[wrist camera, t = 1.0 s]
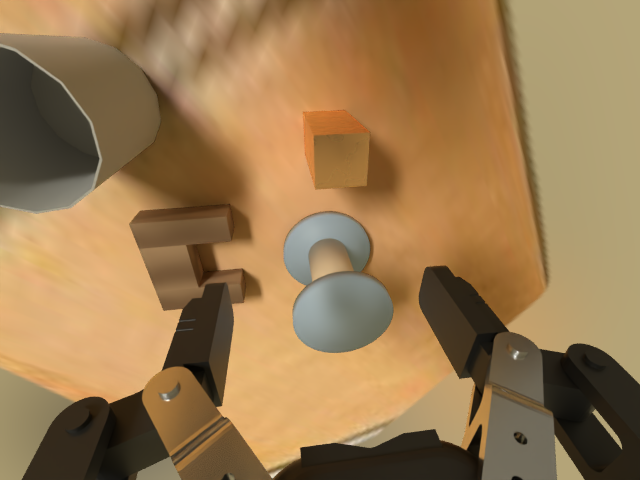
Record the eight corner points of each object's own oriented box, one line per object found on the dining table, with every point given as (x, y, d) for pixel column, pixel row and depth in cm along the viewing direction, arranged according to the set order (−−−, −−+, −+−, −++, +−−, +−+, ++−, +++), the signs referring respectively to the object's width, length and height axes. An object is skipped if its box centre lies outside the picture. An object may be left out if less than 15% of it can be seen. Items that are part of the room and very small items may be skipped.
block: (303, 112, 26) (313, 135, 19) (344, 110, 26) (370, 132, 19) (305, 154, 27) (315, 189, 21) (344, 152, 28) (366, 185, 21)
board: (140, 210, 28) (129, 224, 26) (229, 204, 29) (226, 216, 27) (170, 294, 34) (163, 310, 31) (245, 286, 34) (243, 302, 32)
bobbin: (279, 215, 30) (281, 280, 22) (370, 208, 31) (406, 268, 23) (287, 286, 35) (291, 362, 27) (365, 278, 36) (393, 350, 27)
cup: (182, 102, 24) (132, 132, 16) (128, 177, 27) (61, 239, 18) (64, 6, 20) (-84, -23, 12) (15, 105, 23) (-136, 139, 14)
